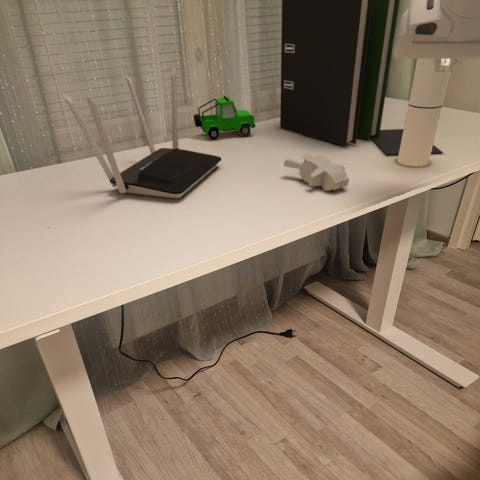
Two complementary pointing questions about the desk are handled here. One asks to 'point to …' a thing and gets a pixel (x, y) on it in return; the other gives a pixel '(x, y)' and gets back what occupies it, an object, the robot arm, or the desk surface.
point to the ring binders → (335, 67)
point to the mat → (393, 142)
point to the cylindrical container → (422, 114)
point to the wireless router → (151, 157)
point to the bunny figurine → (320, 172)
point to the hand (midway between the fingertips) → (442, 68)
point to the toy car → (224, 119)
